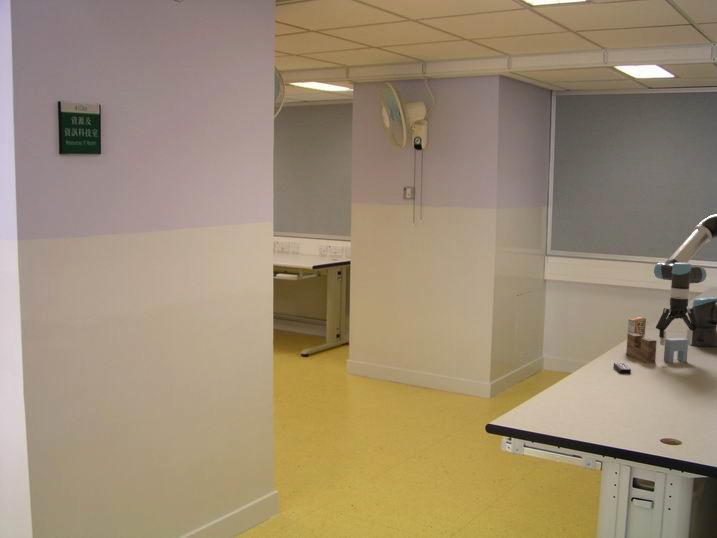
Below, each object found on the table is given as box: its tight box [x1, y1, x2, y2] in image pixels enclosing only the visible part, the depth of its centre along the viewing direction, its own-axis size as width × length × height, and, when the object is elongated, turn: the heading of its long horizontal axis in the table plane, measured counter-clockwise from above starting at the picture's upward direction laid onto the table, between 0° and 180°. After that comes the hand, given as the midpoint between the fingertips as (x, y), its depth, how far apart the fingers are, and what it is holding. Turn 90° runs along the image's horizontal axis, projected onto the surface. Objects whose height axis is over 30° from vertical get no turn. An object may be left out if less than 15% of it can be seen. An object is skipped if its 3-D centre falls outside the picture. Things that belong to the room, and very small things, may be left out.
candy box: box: [627, 316, 647, 338], centre depth 375 cm, size 9×4×15 cm, turn 129°
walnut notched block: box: [626, 333, 658, 364], centre depth 358 cm, size 4×16×10 cm, turn 15°
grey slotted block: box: [663, 337, 689, 364], centre depth 354 cm, size 9×4×10 cm, turn 105°
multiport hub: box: [613, 362, 632, 375], centre depth 336 cm, size 4×11×2 cm, turn 177°
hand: (675, 344), depth 354 cm, fingers open, 13 cm apart
